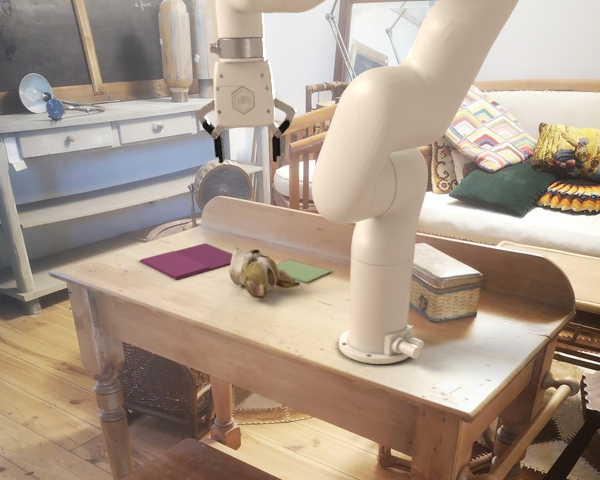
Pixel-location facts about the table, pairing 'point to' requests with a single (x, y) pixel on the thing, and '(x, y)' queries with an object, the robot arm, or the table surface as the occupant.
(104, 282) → the table surface
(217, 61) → the robot arm
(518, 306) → the table surface
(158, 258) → the plum cloth
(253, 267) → the ceramic sculpture
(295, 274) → the sage cloth
